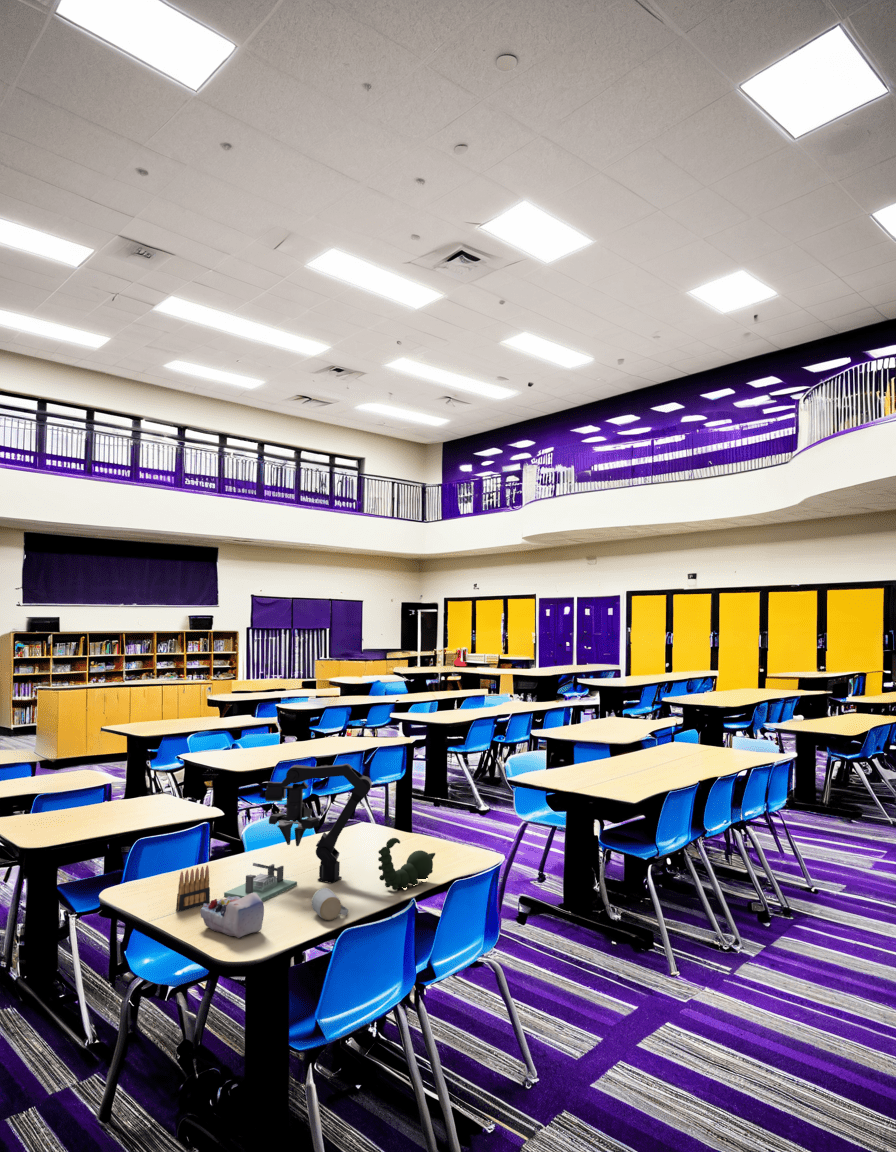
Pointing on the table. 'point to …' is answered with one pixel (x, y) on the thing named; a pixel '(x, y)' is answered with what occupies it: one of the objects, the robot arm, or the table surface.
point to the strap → (264, 866)
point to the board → (265, 894)
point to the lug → (249, 883)
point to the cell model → (234, 915)
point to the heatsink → (264, 882)
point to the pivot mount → (279, 872)
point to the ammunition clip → (193, 890)
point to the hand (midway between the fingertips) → (293, 845)
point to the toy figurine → (404, 867)
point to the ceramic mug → (327, 904)
